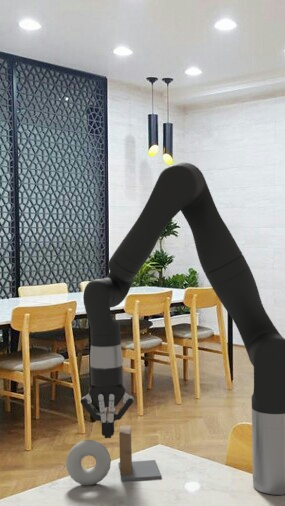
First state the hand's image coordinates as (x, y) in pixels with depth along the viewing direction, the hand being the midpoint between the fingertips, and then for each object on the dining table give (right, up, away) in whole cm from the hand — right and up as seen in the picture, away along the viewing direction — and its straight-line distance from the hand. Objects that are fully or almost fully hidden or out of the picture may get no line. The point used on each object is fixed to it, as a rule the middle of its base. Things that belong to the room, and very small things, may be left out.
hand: (108, 437), depth 143 cm
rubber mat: (+7, -8, 0) cm, 11 cm away
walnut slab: (+4, -8, 0) cm, 9 cm away
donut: (-4, -9, -7) cm, 12 cm away
